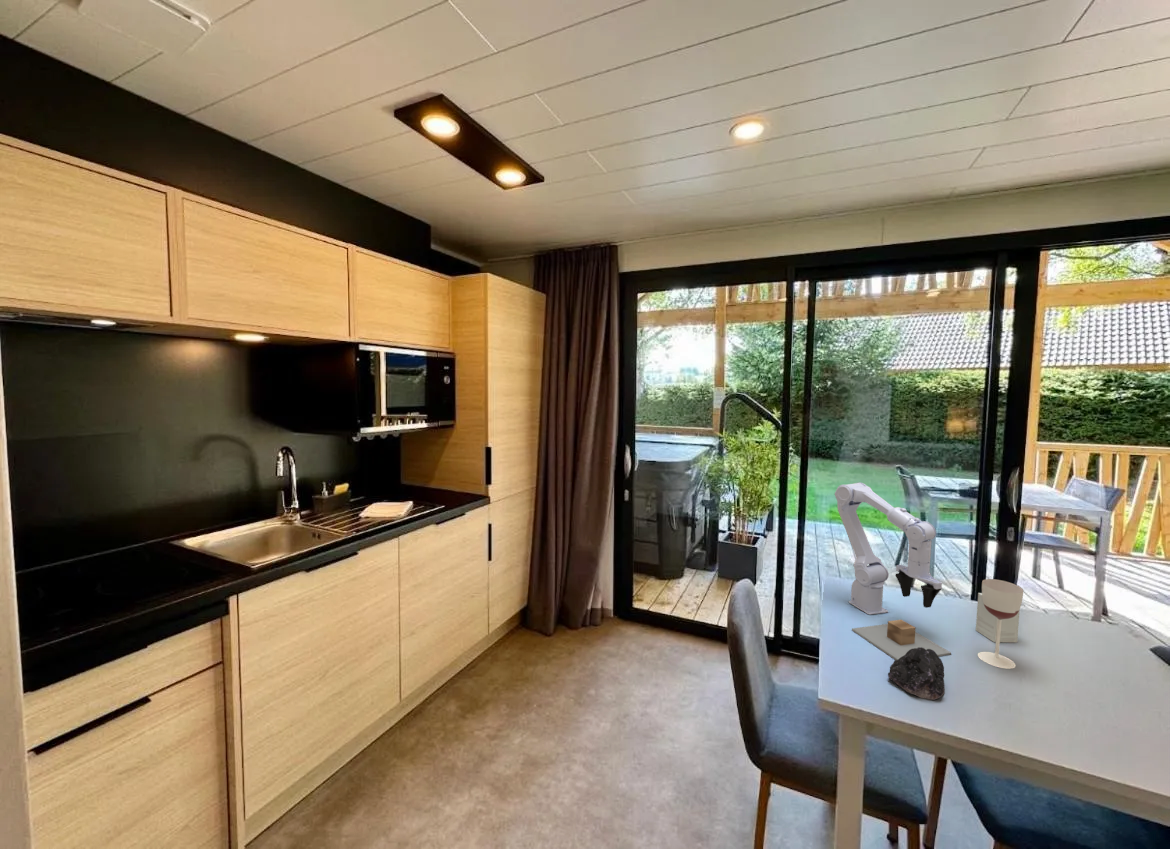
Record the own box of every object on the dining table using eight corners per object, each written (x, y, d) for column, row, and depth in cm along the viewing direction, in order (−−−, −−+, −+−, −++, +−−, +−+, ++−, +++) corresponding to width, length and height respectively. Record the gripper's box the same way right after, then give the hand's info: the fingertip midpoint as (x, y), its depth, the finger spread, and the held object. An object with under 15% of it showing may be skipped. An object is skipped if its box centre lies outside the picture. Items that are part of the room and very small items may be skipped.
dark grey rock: (901, 701, 121) (908, 666, 119) (876, 665, 134) (882, 633, 133) (958, 709, 120) (966, 674, 118) (927, 672, 133) (934, 640, 131)
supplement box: (1018, 642, 146) (1021, 603, 145) (993, 642, 146) (996, 603, 145) (998, 630, 153) (1001, 592, 152) (974, 630, 154) (977, 592, 152)
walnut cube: (886, 636, 149) (887, 621, 148) (900, 634, 150) (901, 619, 149) (900, 645, 144) (901, 629, 143) (914, 643, 145) (915, 627, 144)
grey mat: (851, 630, 154) (851, 628, 154) (898, 623, 158) (898, 622, 157) (899, 662, 136) (899, 660, 136) (951, 654, 140) (951, 652, 140)
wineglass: (981, 664, 135) (987, 589, 133) (972, 647, 144) (978, 576, 141) (1021, 673, 131) (1028, 596, 129) (1010, 655, 139) (1017, 582, 137)
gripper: (951, 567, 146) (948, 610, 147) (909, 551, 160) (907, 590, 161) (932, 569, 144) (929, 613, 145) (891, 552, 158) (889, 592, 160)
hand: (916, 601), depth 153 cm, fingers open, 7 cm apart
